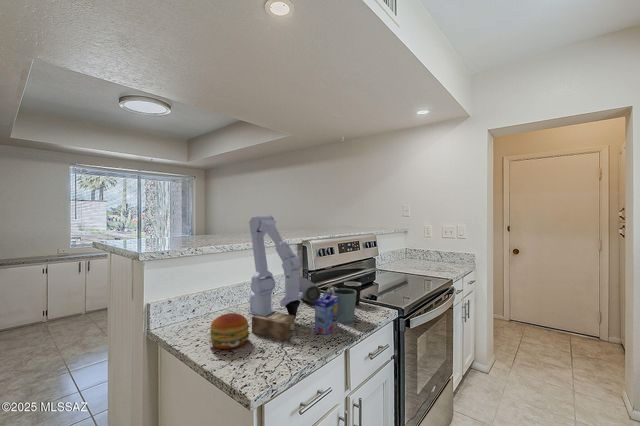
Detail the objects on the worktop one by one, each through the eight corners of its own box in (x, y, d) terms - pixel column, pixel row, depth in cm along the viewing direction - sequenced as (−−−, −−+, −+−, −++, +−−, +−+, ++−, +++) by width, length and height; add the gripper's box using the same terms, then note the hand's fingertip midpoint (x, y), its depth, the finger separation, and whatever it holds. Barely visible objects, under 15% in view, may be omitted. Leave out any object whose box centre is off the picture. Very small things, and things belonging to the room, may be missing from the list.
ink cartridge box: (326, 335, 108) (326, 296, 108) (314, 332, 111) (313, 294, 111) (339, 326, 117) (338, 290, 117) (326, 323, 120) (326, 288, 120)
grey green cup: (327, 319, 124) (327, 291, 124) (342, 313, 132) (342, 286, 132) (346, 325, 118) (346, 295, 117) (361, 319, 125) (361, 290, 125)
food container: (337, 316, 128) (337, 293, 128) (323, 315, 130) (323, 292, 130) (340, 307, 140) (340, 286, 140) (328, 306, 142) (328, 285, 142)
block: (267, 330, 113) (266, 318, 113) (277, 324, 119) (277, 312, 119) (284, 334, 109) (284, 321, 109) (294, 327, 116) (294, 315, 116)
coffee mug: (364, 303, 147) (364, 282, 147) (356, 307, 139) (356, 286, 139) (343, 299, 153) (343, 280, 153) (335, 303, 146) (335, 283, 145)
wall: (251, 332, 111) (251, 316, 111) (255, 330, 113) (255, 315, 113) (287, 340, 104) (287, 323, 104) (290, 338, 106) (290, 322, 106)
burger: (210, 355, 94) (209, 324, 94) (207, 339, 106) (207, 311, 106) (252, 347, 99) (252, 318, 99) (245, 332, 112) (245, 306, 111)
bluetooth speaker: (290, 294, 163) (290, 276, 163) (306, 292, 167) (305, 274, 167) (304, 306, 142) (303, 285, 142) (321, 303, 146) (321, 283, 146)
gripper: (290, 291, 113) (291, 326, 113) (309, 283, 126) (309, 314, 126) (275, 289, 117) (275, 323, 117) (295, 281, 129) (295, 312, 130)
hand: (292, 318), depth 122 cm, fingers closed
